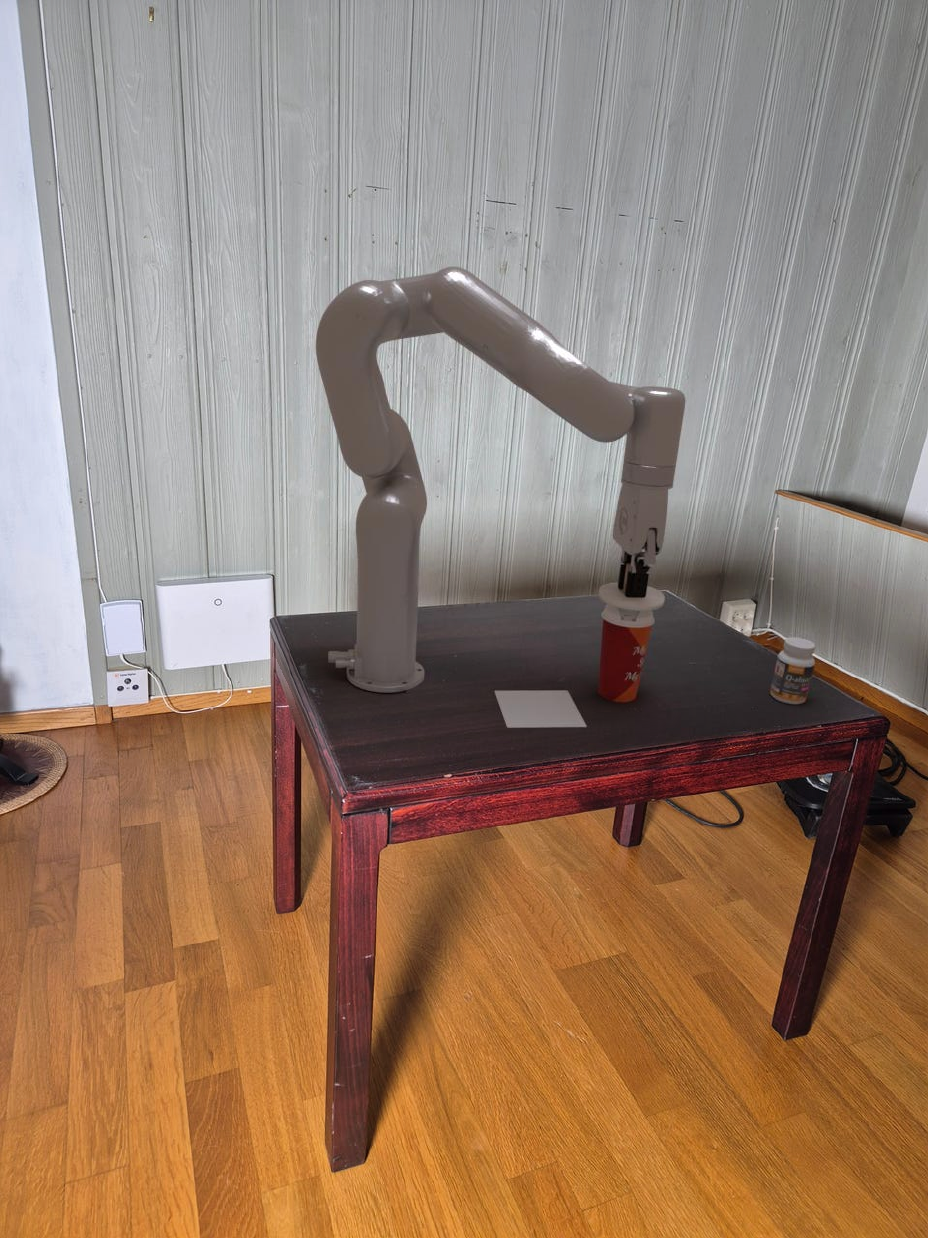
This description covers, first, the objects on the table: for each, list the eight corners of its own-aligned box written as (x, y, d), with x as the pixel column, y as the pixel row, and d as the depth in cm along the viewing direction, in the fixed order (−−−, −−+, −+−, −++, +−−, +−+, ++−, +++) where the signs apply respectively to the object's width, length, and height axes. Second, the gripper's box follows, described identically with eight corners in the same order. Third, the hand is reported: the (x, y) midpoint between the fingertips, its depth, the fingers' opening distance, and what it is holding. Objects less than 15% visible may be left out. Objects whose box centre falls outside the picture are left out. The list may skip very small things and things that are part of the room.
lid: (609, 610, 124) (614, 575, 122) (590, 587, 133) (594, 554, 131) (673, 611, 126) (679, 576, 124) (650, 588, 135) (655, 555, 133)
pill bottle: (783, 706, 135) (795, 650, 132) (762, 691, 141) (774, 636, 137) (813, 704, 137) (826, 648, 133) (791, 689, 142) (803, 634, 138)
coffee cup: (642, 710, 131) (656, 621, 126) (589, 703, 132) (601, 614, 127) (642, 688, 139) (655, 603, 133) (592, 681, 140) (603, 596, 135)
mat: (507, 729, 123) (507, 727, 123) (494, 692, 134) (494, 690, 134) (586, 729, 124) (586, 726, 124) (567, 692, 135) (567, 690, 135)
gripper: (607, 462, 129) (593, 575, 136) (641, 486, 115) (623, 611, 121) (653, 464, 131) (637, 576, 137) (693, 487, 116) (673, 612, 122)
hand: (631, 592), depth 129 cm, fingers closed on lid, 2 cm apart
